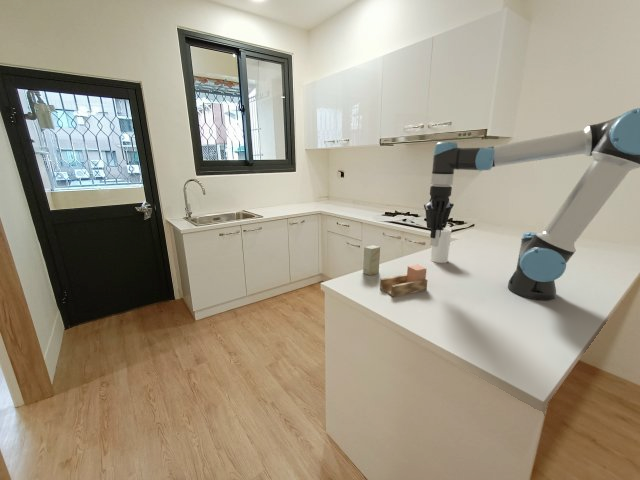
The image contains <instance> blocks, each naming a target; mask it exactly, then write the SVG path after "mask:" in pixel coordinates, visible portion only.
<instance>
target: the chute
mask: <svg viewBox="0 0 640 480" xmlns="http://www.w3.org/2000/svg"><path fill="white" fill-rule="evenodd" d="M379 282H380V284H379V289H380V290H381V291H383V292H385V293H386V294H388V295H389V296H390V297H392V298H394V297H399V296H400V297H401V296H404V295H409V294H413V293H418V292H422V291H427V288H428V279H423V280H418V281H412V282H407V273H406V274H399V275H394V276H389V277H388V276H387V277H383V278H380V281H379ZM406 282H407V283H406Z"/></svg>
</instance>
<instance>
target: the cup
mask: <svg viewBox="0 0 640 480" xmlns="http://www.w3.org/2000/svg"><path fill="white" fill-rule="evenodd" d="M443 229H444V230H441V234H440V238H439V244H438V247H434V246H432V245H431V248H430V249H431V250H430V261H432V262H433V263H437V264H446V263H448V261H449V254H450V253H449V252H450V246H451V235H452V229H450V228H447V227H445V228H443Z"/></svg>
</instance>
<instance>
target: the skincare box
mask: <svg viewBox="0 0 640 480" xmlns="http://www.w3.org/2000/svg"><path fill="white" fill-rule="evenodd" d="M380 256H381V246H378V245H375V244H372V245H367V246H364V247H363V267H362V269H363V270H362V273H363V274H366V275H368V276H372V275H376V274H379V272H380V259H381V258H380Z"/></svg>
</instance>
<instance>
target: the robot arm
mask: <svg viewBox="0 0 640 480" xmlns="http://www.w3.org/2000/svg"><path fill="white" fill-rule="evenodd" d="M434 147H435V148H434V153H433V159H432V161H433V162H432V171H431V179H430V181H431V182H430V184H431V186H430V189H429V195H430V199H429V202H428V203H426V204H423V207H424V208H423V209H424V210H425V219H426V221H425V222H426V228H427V229H429V230H430V235H429V236H430V242H429V243H430V246H431V247H432V246H434V247H438V244H439V238H440V234H441V230H444V229H443V228H447V225H448V221H449V217H450V215H451V212H452V209H453V207H454V203H452V202H450V197H451V196H452V190H453V187H452V185H454V183H453V182H454V175H455V174H454V173H455V170H458V171H461V170H465V171H480V172H481V171H482V172H483V171H490V170H491V169H492V168H495V167H502V166H509V165H515V164H523V163H528V162H535V161H536V162H537V161H542V160H548V159H550V160H551V159H557V158H563V157H569V156H575V155H585V156H586V157H591V156H592V158H593V160H592V161H591V163H590V164H589V166H588V168H587V169H586V170H585V172H584V173H583V175H581V177H580V179H578V182H577V183H576V184H575V186H574V187H573V189H572V190H571V192H570V193H569V195H568V196H567V197H566V199H565V200H564V202H563V203H562V204H561V206H560V208H558V210H557V211H556V213H555V214H554V216H553V217H552V219H551V220H550V222H549V223H548V224H547V226H546V228H545V229H544V230H541V231H538V232H531V231H528V232H527V231H526V232H524V233H523V234H522V237H521V239H520V240H521V243H520V246H519V253H518V259H517V262H516V264H517V265H516V269H515V271H514V272H513V274H512V276H510V279H509V280H508V284H507V289H508V290H509V291H511V292H512V293H514V294H516V295H518V296H522V297H524V298H529V299H533V300H538V301H549V300H553V299H555V298H556V295H557V288H556V283H555V281H556V280H558V279H559V278H561V277H562V276H563V274H564V273H565V271H566V269H567V263H568V262H569V260H570V259H571V258H572V257H573V255H574V254H575V252H576V251H577V250H576V247H575V243H576V242H577V241H578V239H579V238H580V236H582V234H583V232H584V231H585V230H586V229H587V227H588V226H590V224H591V222H593V220H594V218H595V217H596V216H597V215H598V213H599V212H600V210H601V209H603V206H604V205H605V204H606V203H607V201H608V200H609V199H610V197H611V196H612V195H613V194H614V192H615V191H616V190H617V188H618V187H619V186H620V185H621V183H622V181H624V179H625V178H626V176H627V175H628V174H629V172H631V171H633V170H635V169H640V108H639V107H637V108H634V109H631V110H628V111H626V112H624V113H622V114H621V115H618V116H617V117H614V118H611V119H609V120H607V121H602V122H599V123H596V124H589V125H587V126H586V127H585V128H583V129H580V130H575V131H569V132H564V133H558V134H552V135H549V136H542V137H538V138H532V139H526V140H522V141H515V142H509V143H504V144H500V145H494V146H488V147H485V146H484V147H459V146H458V142H454V141H449V142H448V141H445V142H444V141H443V142H441V141H439V142H437V143H436V144H435V146H434Z"/></svg>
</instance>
